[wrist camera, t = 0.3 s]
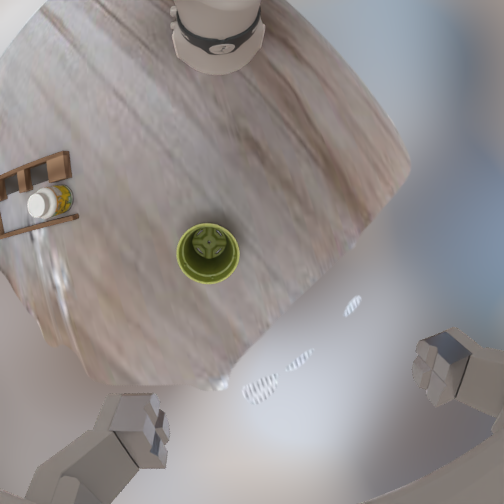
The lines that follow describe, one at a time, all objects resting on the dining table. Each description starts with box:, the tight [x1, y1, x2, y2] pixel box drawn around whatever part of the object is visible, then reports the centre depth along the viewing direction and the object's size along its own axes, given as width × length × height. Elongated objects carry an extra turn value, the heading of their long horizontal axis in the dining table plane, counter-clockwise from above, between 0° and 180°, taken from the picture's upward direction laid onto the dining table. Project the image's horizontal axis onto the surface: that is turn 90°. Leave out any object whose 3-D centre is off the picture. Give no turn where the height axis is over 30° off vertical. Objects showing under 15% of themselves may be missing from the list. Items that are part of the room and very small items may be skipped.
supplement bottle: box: [27, 185, 73, 219], centre depth 43 cm, size 5×5×10 cm
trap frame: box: [0, 151, 79, 239], centre depth 45 cm, size 13×22×2 cm, turn 97°
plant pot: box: [176, 223, 240, 284], centre depth 48 cm, size 9×9×9 cm
